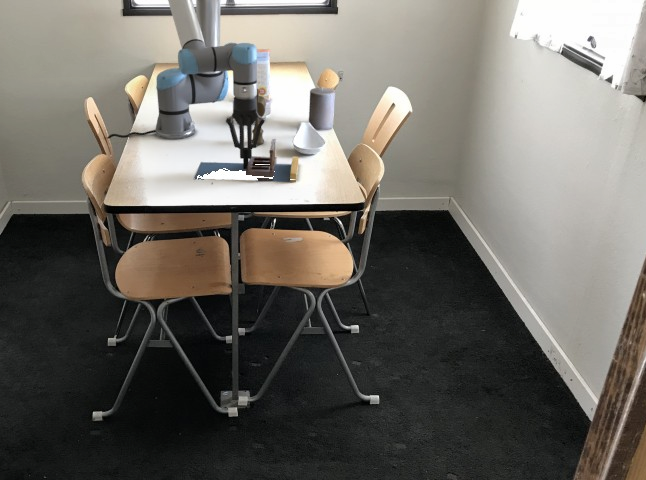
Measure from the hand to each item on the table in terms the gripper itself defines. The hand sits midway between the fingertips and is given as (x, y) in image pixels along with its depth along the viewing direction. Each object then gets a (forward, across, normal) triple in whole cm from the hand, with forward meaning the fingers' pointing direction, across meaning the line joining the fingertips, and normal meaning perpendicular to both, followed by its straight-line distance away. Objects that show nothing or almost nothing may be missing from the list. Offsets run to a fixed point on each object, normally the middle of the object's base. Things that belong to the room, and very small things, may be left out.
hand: (246, 167), depth 239 cm
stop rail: (+2, +16, 0) cm, 16 cm away
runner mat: (+2, 0, 0) cm, 2 cm away
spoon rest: (+2, +19, +27) cm, 33 cm away
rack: (+2, +5, 0) cm, 5 cm away
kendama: (+2, +1, +30) cm, 30 cm away
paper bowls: (+2, -4, +58) cm, 58 cm away
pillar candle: (+2, +24, +52) cm, 57 cm away
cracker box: (+2, -6, +86) cm, 86 cm away
